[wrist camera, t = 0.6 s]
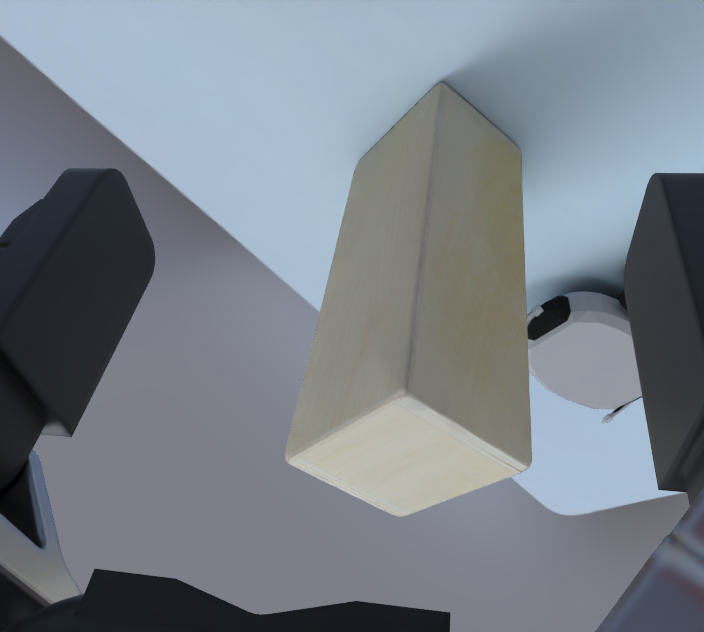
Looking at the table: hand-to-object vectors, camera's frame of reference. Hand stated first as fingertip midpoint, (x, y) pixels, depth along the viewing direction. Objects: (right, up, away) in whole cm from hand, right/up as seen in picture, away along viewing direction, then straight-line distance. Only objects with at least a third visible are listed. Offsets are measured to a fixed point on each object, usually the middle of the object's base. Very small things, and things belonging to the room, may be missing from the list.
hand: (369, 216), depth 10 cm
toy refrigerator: (+5, +8, +30) cm, 31 cm away
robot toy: (+19, -1, +36) cm, 41 cm away
